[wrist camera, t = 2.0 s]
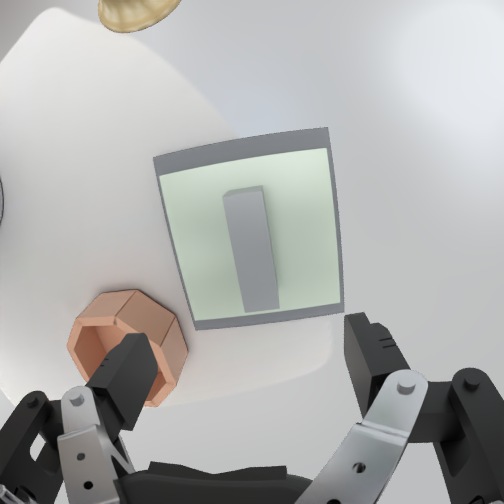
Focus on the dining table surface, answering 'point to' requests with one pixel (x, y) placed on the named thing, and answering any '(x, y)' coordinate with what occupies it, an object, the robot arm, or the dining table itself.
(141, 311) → the bowl
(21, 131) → the dining table surface
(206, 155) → the mat
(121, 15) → the hand bell
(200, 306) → the cover sheet
